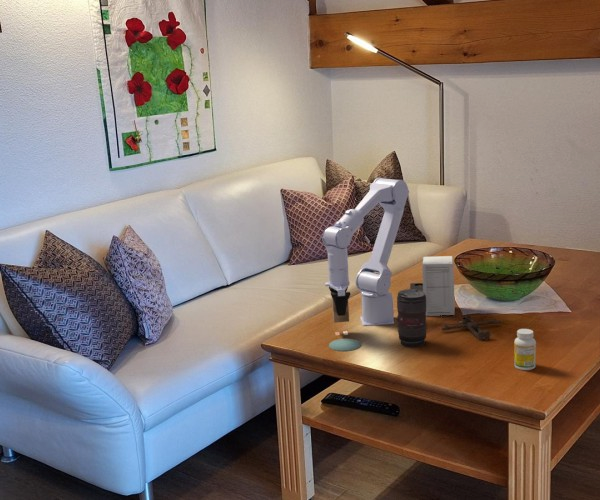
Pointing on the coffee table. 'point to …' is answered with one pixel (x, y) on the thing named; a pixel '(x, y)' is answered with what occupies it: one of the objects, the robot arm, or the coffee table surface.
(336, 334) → the grey square plate
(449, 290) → the supplement box
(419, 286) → the vhs tape
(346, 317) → the walnut block
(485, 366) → the coffee table surface
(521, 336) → the supplement bottle
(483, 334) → the dark cross-shaped bracket
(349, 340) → the coaster
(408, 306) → the camera lens
